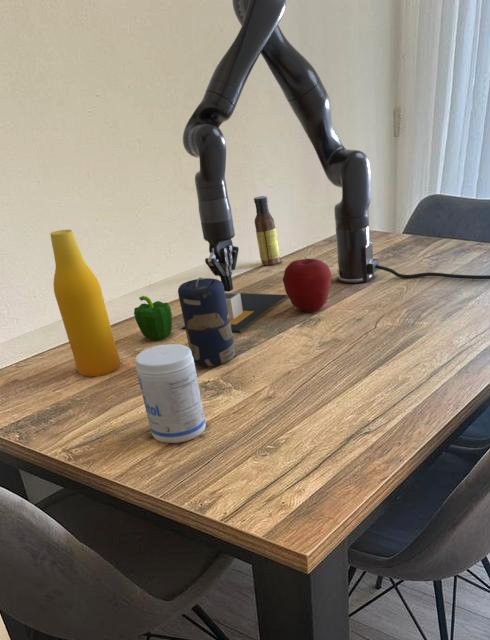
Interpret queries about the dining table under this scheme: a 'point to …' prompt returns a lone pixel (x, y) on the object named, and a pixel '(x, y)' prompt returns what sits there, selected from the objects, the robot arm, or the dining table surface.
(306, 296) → the apple
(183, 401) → the supplement tub
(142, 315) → the bell pepper
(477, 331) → the dining table surface
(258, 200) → the sauce bottle
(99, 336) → the beer bottle
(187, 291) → the canister
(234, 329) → the mat
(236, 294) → the matte off-white cube
